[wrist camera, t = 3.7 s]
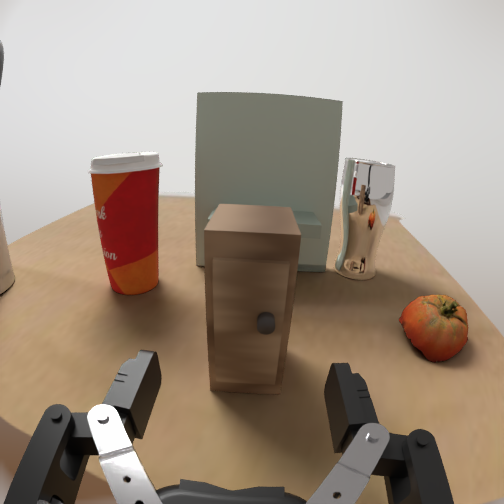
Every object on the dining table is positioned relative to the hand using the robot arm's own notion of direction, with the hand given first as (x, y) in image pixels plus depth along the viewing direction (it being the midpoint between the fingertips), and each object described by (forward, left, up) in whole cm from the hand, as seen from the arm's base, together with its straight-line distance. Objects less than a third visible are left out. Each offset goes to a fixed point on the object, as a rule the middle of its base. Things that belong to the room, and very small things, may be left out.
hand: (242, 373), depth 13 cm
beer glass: (+14, +27, -7) cm, 31 cm away
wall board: (+1, +26, -7) cm, 27 cm away
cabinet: (0, +8, -7) cm, 10 cm away
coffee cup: (-14, +20, -7) cm, 25 cm away
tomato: (+18, +11, -7) cm, 23 cm away
